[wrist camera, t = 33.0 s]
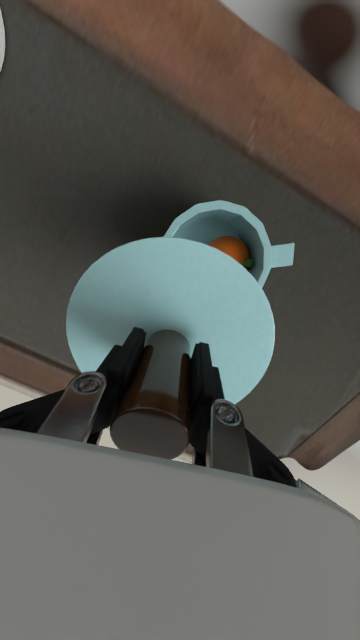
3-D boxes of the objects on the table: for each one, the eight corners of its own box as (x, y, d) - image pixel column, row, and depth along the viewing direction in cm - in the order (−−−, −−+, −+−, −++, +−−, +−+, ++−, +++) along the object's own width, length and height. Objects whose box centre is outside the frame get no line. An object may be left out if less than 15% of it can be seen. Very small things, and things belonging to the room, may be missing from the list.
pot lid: (44, 253, 11) (-153, 273, 5) (275, 220, 10) (433, 188, 4) (106, 411, 17) (52, 523, 10) (262, 404, 15) (315, 529, 9)
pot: (144, 223, 28) (122, 216, 20) (267, 202, 26) (303, 185, 18) (159, 301, 33) (147, 324, 25) (264, 289, 31) (291, 309, 23)
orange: (197, 230, 26) (245, 229, 20) (226, 240, 30) (272, 241, 24) (189, 277, 27) (231, 287, 22) (217, 281, 32) (258, 290, 26)
